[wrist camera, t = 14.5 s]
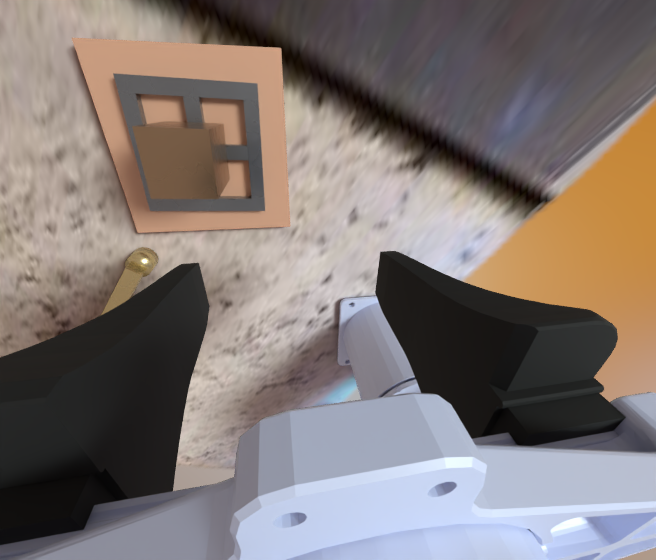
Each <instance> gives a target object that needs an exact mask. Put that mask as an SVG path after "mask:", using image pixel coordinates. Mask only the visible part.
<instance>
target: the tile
mask: <svg viewBox="0 0 656 560" xmlns="http://www.w3.org/2000/svg"><path fill="white" fill-rule="evenodd" d="M72 40H73V43H74V46H75V49H76V52H77V55H78V58H79V61H80V64H81V67H82V70H83V73H84V76H85V79H86V82H87V85H88V87H89V90H90V93H91V96H92V99H93V102H94V105H95V108H96V111H97V114H98V117H99V120H100V123H101V126H102V129H103V132H104V135H105V138H106V141H107V143H108V146H109V149H110V152H111V155H112V158H113V161H114V164H115V167H116V170H117V173H118V176H119V179H120V182H121V185H122V188H123V191H124V194H125V196H126V199H127V202H128V205H129V208H130V211H131V214H132V217H133V220H134V223H135V226H136V229H137V232H138V233H145V232H169V231H194V230H218V229H242V228H267V227H290V211H289V192H288V172H287V153H286V134H285V114H284V95H283V76H282V56H281V48H271V47H250V46H230V45H209V44H189V43H168V42H148V41H127V40H107V39H86V38H72ZM113 73H115V74H130V75H144V76H159V77H173V78H188V79H202V80H217V81H231V82H246V83H257V84H258V96H259V113H260V129H261V145H262V162H263V178H264V195H265V211H150V209H149V205H148V202H147V198H146V194H145V191H144V187H143V183H142V179H141V176H140V172H139V168H138V164H137V161H136V157H135V153H134V149H133V146H132V142H131V138H130V135H129V131H128V127H127V123H126V120H125V116H124V112H123V108H122V105H121V101H120V97H119V93H118V90H117V86H116V82H115V79H114V75H113ZM140 97H141V101H142V105H143V109H144V114H145V118H146V122H147V124H150V123H156V122H163V121H176V122H187V117H186V111H185V106H184V100H183V96H168V95H151V94H140ZM201 100H202V106H203V113H204V120H205V123H220V124H223V125H224V133H225V142H226V144H243V145H247V137H246V125H245V113H244V102H243V100H236V99H219V98H202V97H201ZM228 167H229V176H230V180H229V182H228V183H227V185H226V187H225V189H224V190H223V192H222V194H221V196H251V185H250V173H249V161H248V160H228Z"/></svg>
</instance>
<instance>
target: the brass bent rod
mask: <svg viewBox="0 0 656 560" xmlns="http://www.w3.org/2000/svg"><path fill="white" fill-rule="evenodd" d="M157 263H158V256H157V254H156V253H155V252H154V251H153V250H151V249H149V248H144V247H142V248H138V249H136V250H135V251H134V252H133V253H132V254H131V256H130V257H129V258H128V259H127V260H126V261H125V270H124V272H123V274H122V275H121V277H120V279H119V281H118V283H117V285H116V287H115V289H114V291H113V293H112V295H111V297H110V299H109V301H108V303H107V305H106V307H105V308H104V310H103V312H102V313H101V315H103V314H105V313H106V312H108V311H110V310H112V309H114V308H115V307H117V306H119V305H121V304H122V303H124V302H125V301H127V300H128V299H130V298H131V297H132V295H133V293H134V291H135V290H136V288H137V286H138V284H139V282H140V280H141V279H142V277H145V276H147V275H149V274H150V273H151V271H152V270H153V268H154V267H155V266H156V264H157ZM101 315H100V316H101Z"/></svg>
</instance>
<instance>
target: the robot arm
mask: <svg viewBox="0 0 656 560" xmlns="http://www.w3.org/2000/svg"><path fill="white" fill-rule="evenodd" d="M375 293H376V296H371V297H358V298H346V299H343V300H341V302H340V313H339V334H338V355H337V362H338V364H339V365H340V366H345V365H351V367H352V370H353V374H354V377H355V380H356V384H357V387H358V390H359V393H360V397H361V400H355V401H348V402H341V403H334V404H327V405H320V406H313V407H306V408H299V409H292V410H288V411H284V412H281V413H278V414H275V415H272V416H268V417H265V418H263V419H262V420H260V421H259V422H258V423H257V424H255V425H254V426H253V427H252V428H250V429H249V430H248V431H247V432H245V433H244V434H243V435H242V436H241V437H240V440H239V444H238V449H237V453H236V463H235V474H234V477H233V478H230V479H228V480H225V481H222V482H219V483H217V484H212V485H207V486H200V487H195V488H189V489H183V490H178V491H173V485H174V476H175V469H176V461H177V454H178V447H179V440H180V434H181V427H182V421H183V415H184V409H185V404H186V399H187V393H188V388H189V384H190V380H191V376H192V373H193V370H194V367H195V364H196V360H197V357H198V354H199V351H200V348H201V344H202V341H203V338H204V334H205V331H206V327H207V321H208V313H209V303H208V299H207V295H206V291H205V287H204V282H203V278H202V274H201V270H200V266H199V263H191V264H181V265H179V266H177V267H176V268H174V269H173V270H171V271H170V272H168V273H167V274H166V275H164V276H163V277H161V278H160V279H158V280H157V281H156V282H154V283H153V284H151V285H150V286H148V287H147V288H146V289H144V290H143V291H141V292H139V293H138V294H136V295H135V296H133V297H132V298H130V299H128V300H127V301H125V302H124V303H122V304H121V305H119V306H117V307H115V308H114V309H112V310H110V311H108V312H106V313H105V314H103V315H101V316H99V317H97V318H95V319H93V320H91V321H89V322H87V323H85V324H83V325H81V326H78V327H76V328H74V329H72V330H69V331H67V332H65V333H63V334H60V335H58V336H56V337H54V338H51V339H49V340H46V341H44V342H41V343H39V344H36V345H34V346H31V347H28V348H26V349H23V350H20V351H17V352H15V353H12V354H9V355H6V356H4V357H1V358H0V560H618V559H621V558H624V557H627V556H630V555H633V554H636V553H639V552H642V551H646V550H649V549H652V548H656V393H653V392H647V393H641V394H635V395H629V396H623V397H619V398H616V399H615V400H613V401H611V402H608V401H607V400H606V399H605V398H604V397H603V396H602V395H600V394H599V393H600V392H602V391H603V390H604V387H603V385H602V384H600V383H599V382H598V381H597V380H596V379H594V376H595V375H596V374H597V372H598V371H599V369H600V368H601V367H602V365H603V364H604V363H605V361H606V360H607V359H608V357H609V356H610V355H611V353H612V351H613V350H614V348H615V346H616V342H617V339H618V336H617V329H616V328H615V327H614V325H613V324H612V323H610V322H608V321H607V320H606V319H604V318H603V317H601V316H600V315H598V314H597V313H595V312H593V311H591V310H587V309H580V308H573V307H565V306H558V305H550V304H545V303H540V302H535V301H529V300H524V299H519V298H515V297H511V296H507V295H503V294H499V293H496V292H492V291H488V290H485V289H482V288H479V287H476V286H473V285H470V284H468V283H465V282H462V281H459V280H457V279H455V278H452V277H450V276H448V275H445V274H443V273H441V272H439V271H436V270H434V269H432V268H430V267H428V266H426V265H424V264H422V263H420V262H418V261H416V260H414V259H412V258H410V257H408V256H406V255H404V254H401V253H399V252H396V251H387V252H380V260H379V268H378V276H377V284H376V291H375ZM350 303H353V304H352V305H349V304H350ZM347 360H348V361H347Z"/></svg>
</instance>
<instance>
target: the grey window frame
mask: <svg viewBox="0 0 656 560" xmlns="http://www.w3.org/2000/svg"><path fill="white" fill-rule="evenodd" d="M113 75H114V79H115V82H116V86H117V90H118V93H119V97H120V101H121V105H122V108H123V112H124V116H125V120H126V123H127V127H128V131H129V135H130V138H131V142H132V146H133V149H134V153H135V157H136V161H137V164H138V168H139V172H140V176H141V179H142V183H143V187H144V191H145V194H146V198H147V202H148V205H149V209H150V211H265V195H264V178H263V162H262V145H261V129H260V113H259V96H258V84H257V83H246V82H231V81H217V80H202V79H188V78H173V77H159V76H144V75H130V74H115V73H113ZM140 94H151V95H168V96H183V100H184V106H185V111H186V117H187V122H176V121H163V122H156V123H150V124H147V122H146V118H145V114H144V109H143V105H142V101H141V97H140ZM201 97H202V98H219V99H236V100H243V102H244V113H245V125H246V137H247V145H243V144H226V142H225V133H224V125H223V124H220V123H205V120H204V113H203V106H202V100H201ZM228 160H248V161H249V173H250V185H251V196H221V194H222V192H223V190H224V189H225V187H226V185H227V183H228V182H229V180H230V176H229V167H228Z"/></svg>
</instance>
